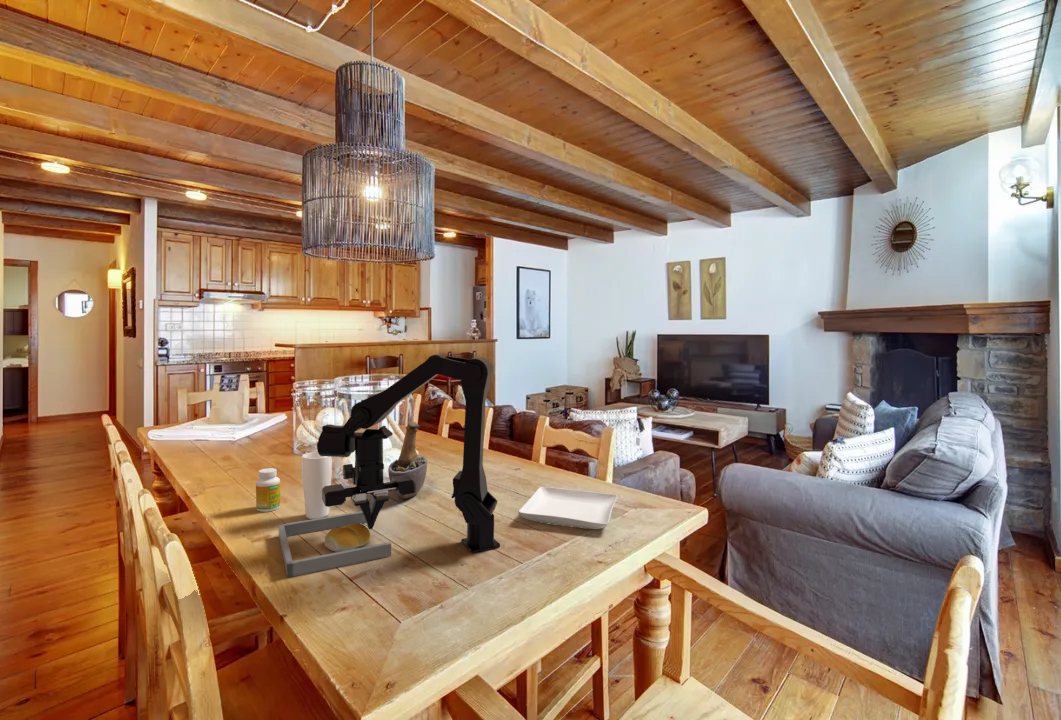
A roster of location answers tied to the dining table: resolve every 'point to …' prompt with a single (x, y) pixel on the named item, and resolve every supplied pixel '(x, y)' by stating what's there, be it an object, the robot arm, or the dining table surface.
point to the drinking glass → (315, 483)
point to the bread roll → (347, 537)
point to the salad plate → (569, 507)
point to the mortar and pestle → (409, 461)
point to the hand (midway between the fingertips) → (370, 528)
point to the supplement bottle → (267, 490)
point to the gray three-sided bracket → (334, 558)
